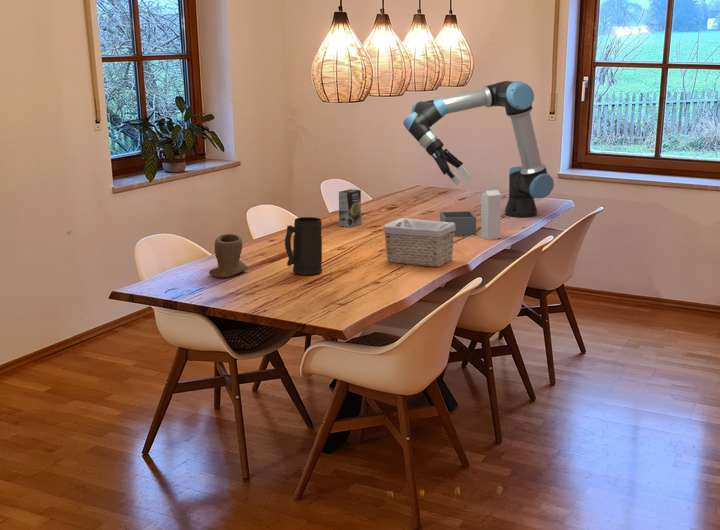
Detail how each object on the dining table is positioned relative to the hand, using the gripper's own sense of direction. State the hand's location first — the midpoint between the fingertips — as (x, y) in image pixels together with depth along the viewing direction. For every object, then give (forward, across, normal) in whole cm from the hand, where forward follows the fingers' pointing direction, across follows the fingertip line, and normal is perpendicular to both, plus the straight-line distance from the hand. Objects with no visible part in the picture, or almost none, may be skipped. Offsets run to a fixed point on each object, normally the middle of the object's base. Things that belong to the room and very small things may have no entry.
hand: (464, 180), depth 363 cm
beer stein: (-7, +80, -42) cm, 91 cm away
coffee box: (-21, -1, -56) cm, 59 cm away
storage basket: (+16, +48, -18) cm, 54 cm away
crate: (+14, -3, -19) cm, 24 cm away
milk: (+26, +2, -8) cm, 27 cm away
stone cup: (-24, +91, -59) cm, 111 cm away
